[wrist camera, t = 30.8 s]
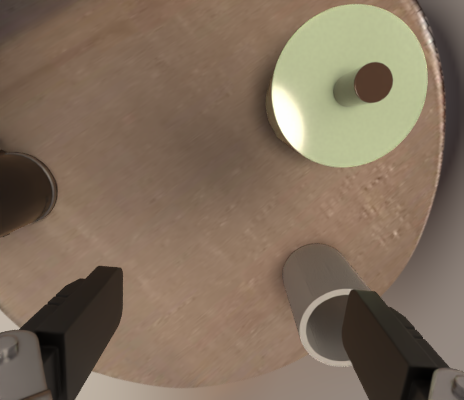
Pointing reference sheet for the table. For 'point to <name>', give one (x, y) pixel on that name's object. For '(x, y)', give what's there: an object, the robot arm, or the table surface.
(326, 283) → the cup
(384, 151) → the jar lid
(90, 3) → the table surface
